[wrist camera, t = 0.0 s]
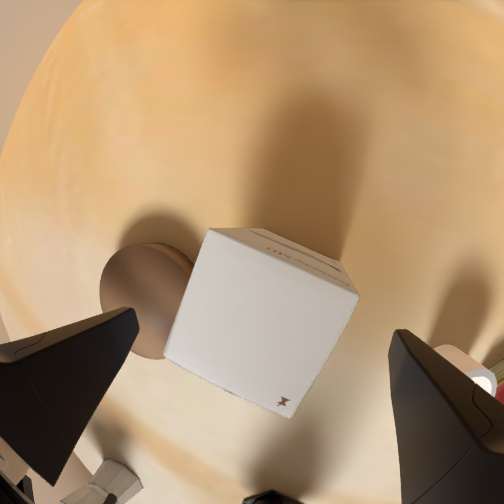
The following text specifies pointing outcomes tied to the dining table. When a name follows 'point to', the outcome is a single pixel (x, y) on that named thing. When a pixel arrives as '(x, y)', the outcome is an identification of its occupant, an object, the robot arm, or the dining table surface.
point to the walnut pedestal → (147, 291)
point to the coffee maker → (107, 486)
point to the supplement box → (260, 316)
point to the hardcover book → (499, 380)
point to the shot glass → (469, 367)
